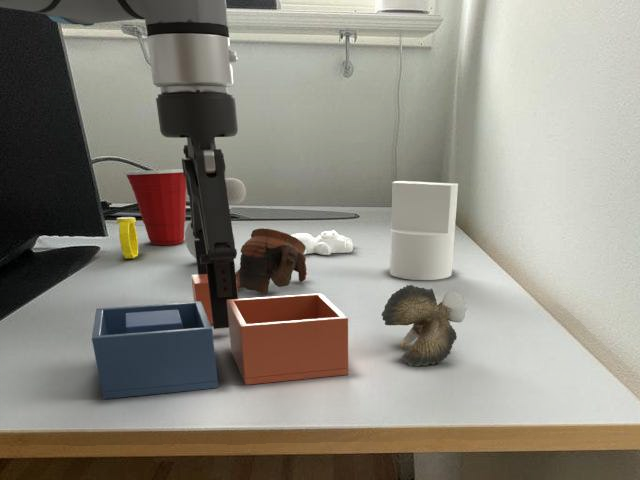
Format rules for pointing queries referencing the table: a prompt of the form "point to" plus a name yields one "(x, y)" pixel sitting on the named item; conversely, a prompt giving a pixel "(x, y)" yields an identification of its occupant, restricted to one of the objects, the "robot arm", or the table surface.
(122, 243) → the watch
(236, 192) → the perfume bottle
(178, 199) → the plastic cup
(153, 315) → the slate block
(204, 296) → the terracotta block
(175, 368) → the slate bin
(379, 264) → the table surface
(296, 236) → the astronaut figurine
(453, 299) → the eagle figurine
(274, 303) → the terracotta bin
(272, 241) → the brown wooden carving
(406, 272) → the cylinder with rectangular tab
